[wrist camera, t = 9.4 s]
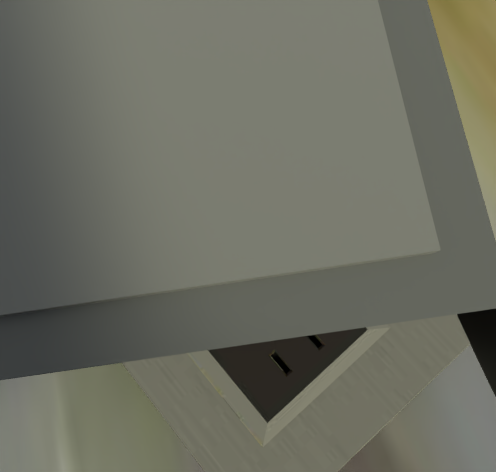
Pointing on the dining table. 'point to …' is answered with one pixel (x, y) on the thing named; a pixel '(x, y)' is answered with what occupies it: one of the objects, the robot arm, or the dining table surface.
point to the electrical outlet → (296, 393)
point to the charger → (227, 177)
